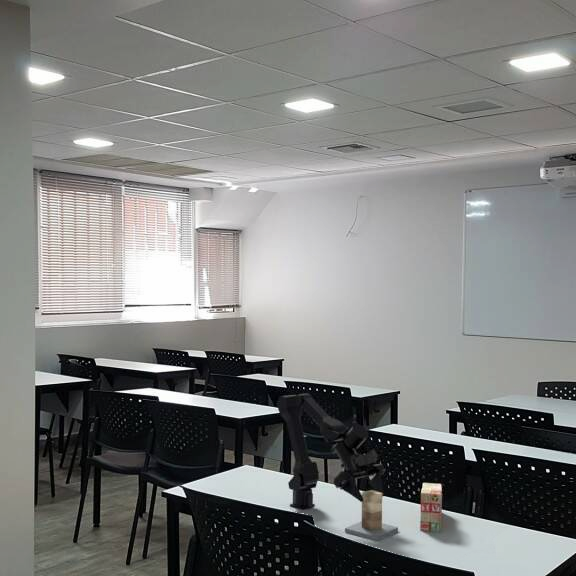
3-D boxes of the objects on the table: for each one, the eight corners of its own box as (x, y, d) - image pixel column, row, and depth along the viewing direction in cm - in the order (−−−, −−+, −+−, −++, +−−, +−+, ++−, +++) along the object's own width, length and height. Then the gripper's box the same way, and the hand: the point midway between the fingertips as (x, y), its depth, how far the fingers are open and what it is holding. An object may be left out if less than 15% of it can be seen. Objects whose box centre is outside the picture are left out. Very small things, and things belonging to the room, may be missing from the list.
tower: (361, 527, 227) (361, 492, 227) (371, 524, 230) (371, 489, 230) (371, 531, 223) (372, 495, 223) (381, 528, 226) (382, 493, 226)
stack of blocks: (423, 511, 249) (423, 475, 249) (441, 512, 248) (442, 476, 248) (420, 530, 228) (420, 492, 228) (440, 532, 227) (440, 493, 227)
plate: (344, 532, 226) (345, 528, 226) (366, 522, 235) (366, 519, 235) (377, 540, 218) (377, 536, 218) (398, 531, 227) (398, 527, 227)
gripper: (340, 446, 224) (365, 489, 216) (381, 439, 236) (406, 479, 228) (323, 466, 231) (346, 509, 222) (364, 458, 242) (387, 498, 234)
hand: (372, 498), depth 226 cm, fingers open, 9 cm apart
